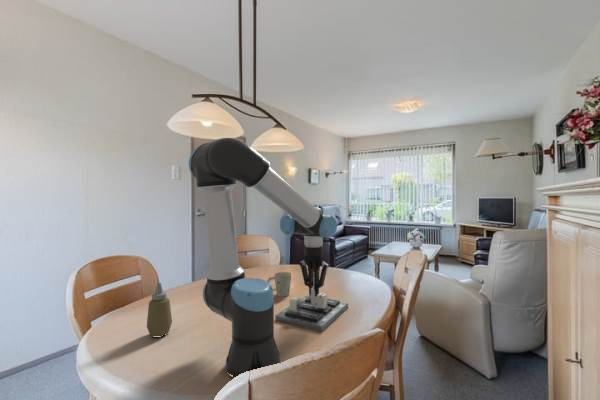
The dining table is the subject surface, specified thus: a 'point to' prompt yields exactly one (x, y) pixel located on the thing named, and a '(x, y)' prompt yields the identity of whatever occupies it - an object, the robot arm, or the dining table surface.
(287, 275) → the mug
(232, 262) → the robot arm
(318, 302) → the block
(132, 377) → the dining table surface
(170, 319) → the squeeze bottle
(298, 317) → the panel
